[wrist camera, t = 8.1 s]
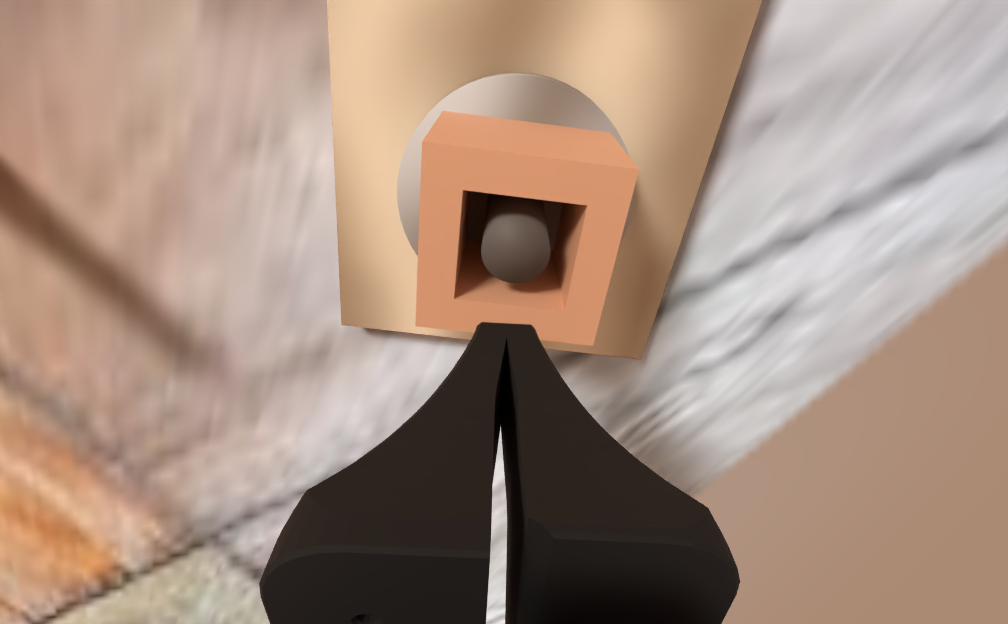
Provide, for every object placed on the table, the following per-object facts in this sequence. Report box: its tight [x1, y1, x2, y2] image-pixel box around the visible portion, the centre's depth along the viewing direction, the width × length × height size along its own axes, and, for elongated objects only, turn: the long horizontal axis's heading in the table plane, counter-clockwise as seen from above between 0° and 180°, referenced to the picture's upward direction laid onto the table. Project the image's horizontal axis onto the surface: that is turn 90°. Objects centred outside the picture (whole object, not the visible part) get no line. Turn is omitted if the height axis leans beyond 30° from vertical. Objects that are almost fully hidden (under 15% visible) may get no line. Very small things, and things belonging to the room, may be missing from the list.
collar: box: [415, 111, 639, 346], centre depth 14 cm, size 5×5×4 cm
